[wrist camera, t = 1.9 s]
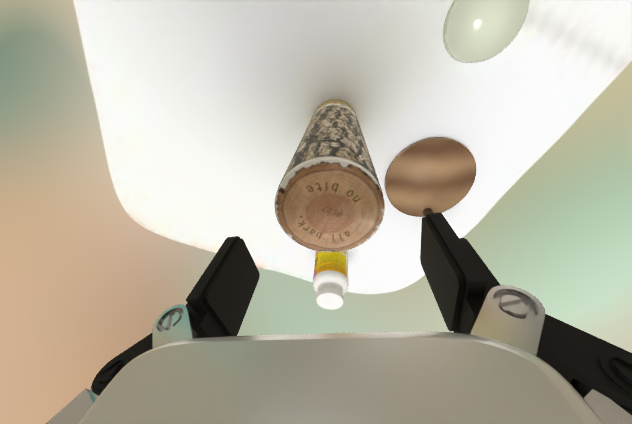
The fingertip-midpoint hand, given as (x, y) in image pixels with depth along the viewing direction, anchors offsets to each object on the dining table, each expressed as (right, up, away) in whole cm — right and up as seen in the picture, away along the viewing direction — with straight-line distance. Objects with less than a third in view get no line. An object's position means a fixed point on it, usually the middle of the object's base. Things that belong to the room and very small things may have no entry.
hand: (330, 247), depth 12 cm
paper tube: (+2, +16, +23) cm, 28 cm away
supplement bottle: (+3, -6, +38) cm, 38 cm away
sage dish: (+19, +25, +15) cm, 35 cm away
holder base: (+18, +7, +27) cm, 33 cm away
